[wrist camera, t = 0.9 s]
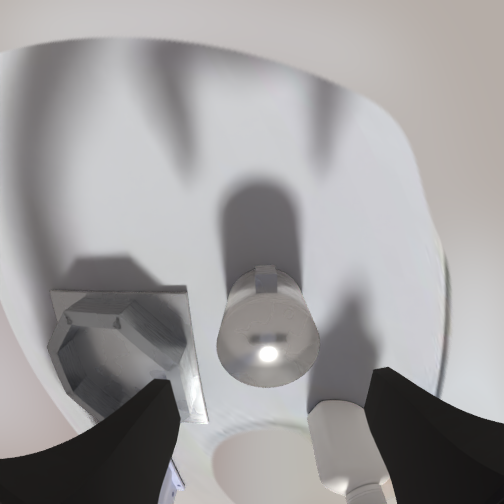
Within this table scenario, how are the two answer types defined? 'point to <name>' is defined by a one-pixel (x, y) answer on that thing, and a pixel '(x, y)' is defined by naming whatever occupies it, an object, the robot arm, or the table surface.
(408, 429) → the robot arm
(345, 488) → the eye dropper bottle
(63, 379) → the collar
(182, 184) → the table surface
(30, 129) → the table surface
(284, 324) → the silver short rounded cylinder
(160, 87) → the table surface
